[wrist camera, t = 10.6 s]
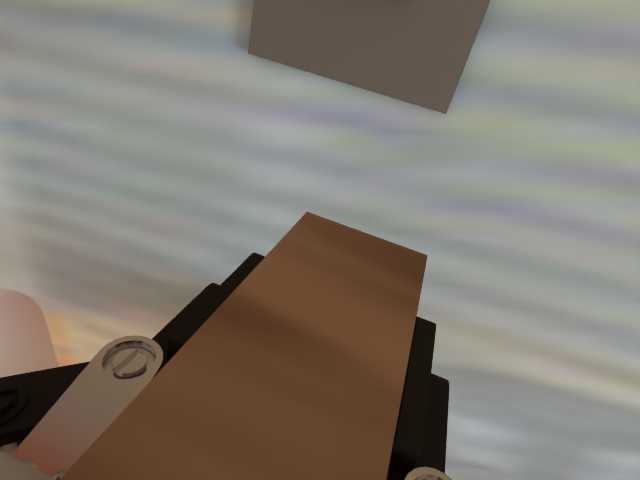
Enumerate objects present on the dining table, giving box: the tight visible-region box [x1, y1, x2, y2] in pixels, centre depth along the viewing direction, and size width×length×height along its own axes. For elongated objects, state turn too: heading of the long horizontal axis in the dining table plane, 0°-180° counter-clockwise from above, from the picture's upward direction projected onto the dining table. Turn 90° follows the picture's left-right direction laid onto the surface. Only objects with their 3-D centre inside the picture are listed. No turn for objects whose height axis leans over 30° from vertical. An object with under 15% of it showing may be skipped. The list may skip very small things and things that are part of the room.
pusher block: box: [59, 212, 427, 480], centre depth 9 cm, size 4×4×10 cm
